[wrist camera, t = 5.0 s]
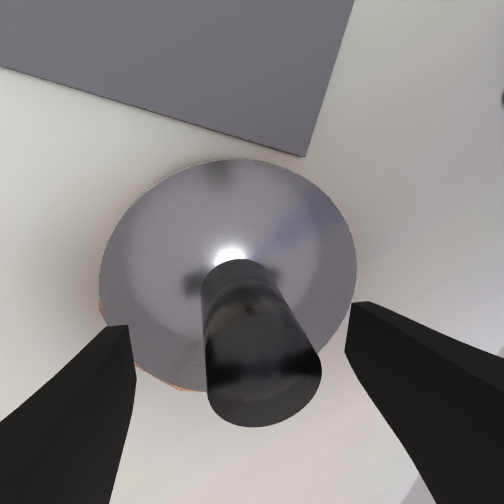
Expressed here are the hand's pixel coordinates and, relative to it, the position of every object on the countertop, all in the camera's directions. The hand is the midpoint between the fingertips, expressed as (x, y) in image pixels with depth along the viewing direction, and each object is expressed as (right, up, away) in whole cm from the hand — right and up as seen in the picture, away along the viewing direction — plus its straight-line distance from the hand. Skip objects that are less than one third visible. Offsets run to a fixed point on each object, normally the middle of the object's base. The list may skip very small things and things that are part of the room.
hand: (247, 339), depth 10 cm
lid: (0, +2, +2) cm, 3 cm away
